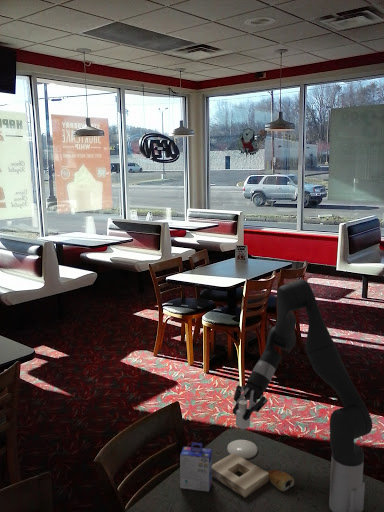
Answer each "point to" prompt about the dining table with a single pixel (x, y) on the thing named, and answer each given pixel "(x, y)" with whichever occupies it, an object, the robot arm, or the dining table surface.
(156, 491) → the dining table surface
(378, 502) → the dining table surface
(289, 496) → the dining table surface
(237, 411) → the salt shaker
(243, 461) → the socket block
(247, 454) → the white dome
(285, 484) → the pastry
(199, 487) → the ink cartridge box
